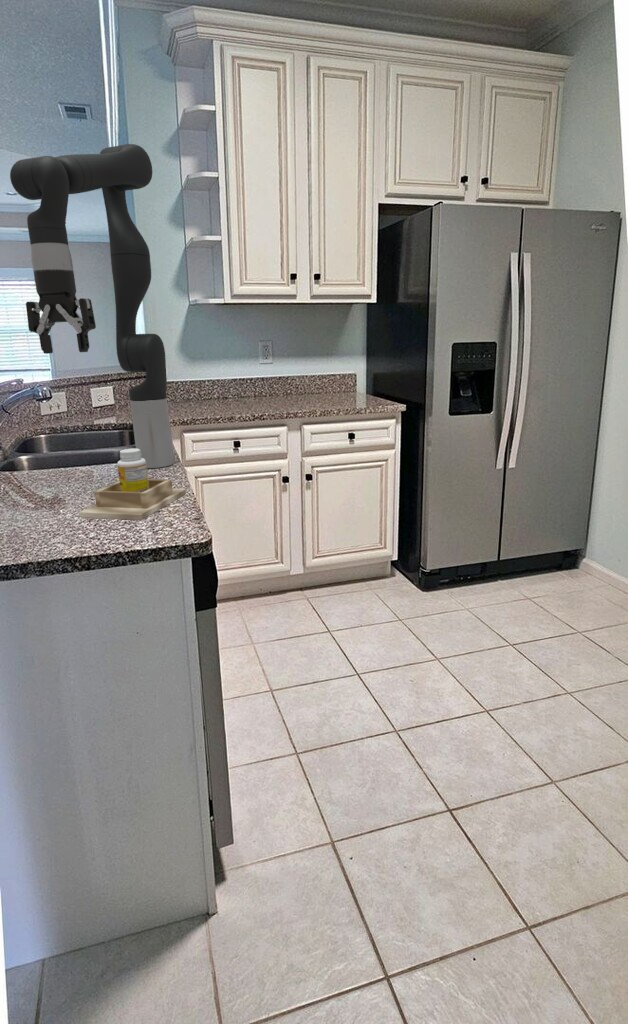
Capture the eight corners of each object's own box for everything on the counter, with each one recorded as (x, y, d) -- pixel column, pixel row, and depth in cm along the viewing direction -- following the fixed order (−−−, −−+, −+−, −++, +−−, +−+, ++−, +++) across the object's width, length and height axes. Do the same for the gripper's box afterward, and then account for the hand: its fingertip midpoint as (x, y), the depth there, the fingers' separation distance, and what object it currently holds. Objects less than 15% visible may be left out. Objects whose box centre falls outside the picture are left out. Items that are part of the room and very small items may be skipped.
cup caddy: (132, 491, 135) (130, 474, 134) (186, 493, 132) (184, 475, 131) (80, 517, 118) (77, 497, 117) (141, 519, 115) (138, 499, 113)
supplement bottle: (125, 497, 127) (118, 448, 124) (152, 495, 128) (146, 446, 125) (119, 504, 122) (112, 453, 119) (148, 502, 122) (141, 451, 119)
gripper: (95, 268, 125) (106, 351, 130) (35, 273, 129) (48, 352, 133) (72, 265, 118) (85, 352, 123) (10, 270, 122) (24, 354, 126)
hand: (65, 352), depth 128 cm, fingers open, 8 cm apart
